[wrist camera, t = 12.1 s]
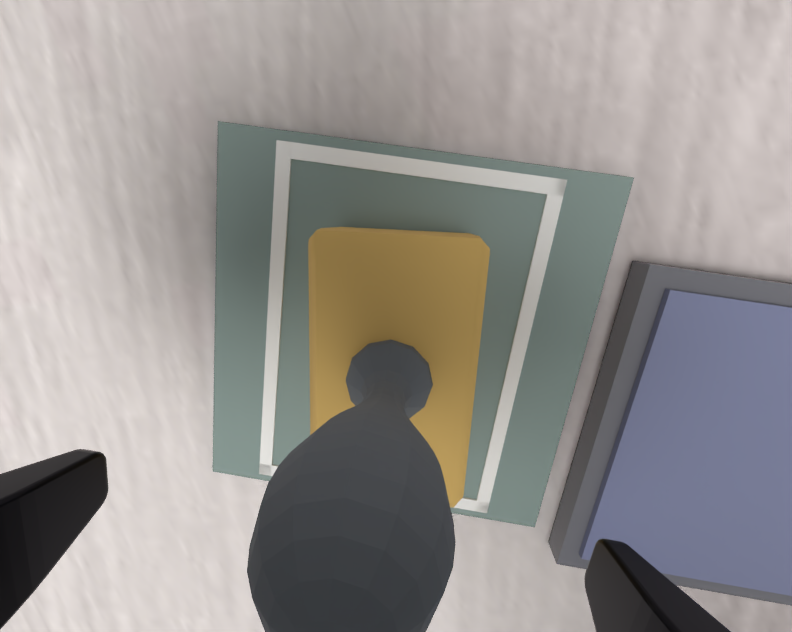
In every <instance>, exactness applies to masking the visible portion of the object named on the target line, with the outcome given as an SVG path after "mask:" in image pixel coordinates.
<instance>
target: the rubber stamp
mask: <svg viewBox="0 0 792 632" xmlns="http://www.w3.org/2000/svg"><path fill="white" fill-rule="evenodd" d="M489 257H490V248H489V247H488V246H487V245H486V243H485V242H484V241H483V240H482V239H481V237H480V236H477V235H473V234H470V233H455V232H435V231H416V230H396V229H376V228H356V227H330V228H320V229H318V230H316V231H315V233H314V234H313V235H312V236H311V237H310V238H309V242H308V268H309V358H310V436H309V437H308V438H306V439H305V440H304V441H303V442H302V443H300V444H299V445H298V446H297V447H296V448H294V449H293V450H292V451H291V452H290V453H289V454H288V455H287V456H286V458H285V459H284V460H283V461H282V462H281V463H280V464H279V466H278V468H277V469H276V471H275V473H274V474H273V476H272V478H271V479H270V481H269V483H268V486H267V488H266V491H265V494H264V497H263V500H262V503H261V506H260V510H259V513H258V517H257V521H256V525H255V528H254V532H253V536H252V540H251V543H250V549H249V558H248V568H247V573H248V578H249V583H250V589H251V594H252V598H253V601H254V604H255V606H256V609H257V612H258V614H259V617H260V619H261V622H262V625H263V627H264V630H265V632H425V631H426V630H427V628H428V626H429V624H430V622H431V619H432V617H433V615H434V613H435V611H436V609H437V606H438V604H439V602H440V600H441V598H442V596H443V593H444V591H445V588H446V585H447V582H448V579H449V577H450V574H451V571H452V568H453V561H454V551H455V535H454V524H453V518H452V513H451V509H450V507H452V508H454V507H455V505H456V504H457V503H458V502H459V501H460V500H461V499H462V498H463V495H464V486H465V477H466V468H467V459H468V449H469V440H470V431H471V422H472V413H473V403H474V394H475V385H476V376H477V367H478V358H479V348H480V339H481V330H482V321H483V312H484V303H485V293H486V284H487V275H488V266H489Z"/></svg>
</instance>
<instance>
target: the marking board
mask: <svg viewBox="0 0 792 632" xmlns="http://www.w3.org/2000/svg"><path fill="white" fill-rule="evenodd" d="M633 179H634V178H633V177H625V176H618V175H610V174H603V173H596V172H588V171H581V170H574V169H566V168H559V167H552V166H544V165H537V164H529V163H522V162H515V161H507V160H500V159H493V158H485V157H478V156H471V155H463V154H456V153H448V152H441V151H434V150H426V149H419V148H412V147H404V146H397V145H389V144H382V143H375V142H367V141H360V140H353V139H345V138H338V137H331V136H323V135H316V134H308V133H301V132H294V131H286V130H279V129H272V128H264V127H257V126H250V125H242V124H235V123H227V122H220V121H218V150H217V217H216V283H215V350H214V416H213V471H214V472H219V473H225V474H231V475H237V476H242V477H248V478H254V479H260V480H265V481H270V479H271V478H272V476H273V474H274V473H275V471H276V469H277V468H278V466H279V464H280V463H281V462H282V461H283V460H284V459H285V458H286V456H287V455H288V454H289V453H290V452H291V451H292V450H293V449H294V448H296V447H297V446H298V445H299V444H300V443H302V442H303V441H304V440H305V439H306V438H308V437H309V436H310V358H309V268H308V242H309V238H310V237H311V236H312V235H313V234H314V233H315V231H316V230H318V229H320V228H330V227H356V228H376V229H396V230H416V231H435V232H455V233H470V234H473V235H477V236H480V237H481V239H482V240H483V241H484V242H485V243H486V245H487V246H488V247H489V248H490V257H489V266H488V275H487V284H486V293H485V303H484V312H483V321H482V330H481V339H480V348H479V358H478V367H477V376H476V385H475V394H474V403H473V413H472V422H471V431H470V440H469V449H468V459H467V468H466V477H465V486H464V495H463V498H462V499H461V500H460V501H459V502H458V503H457V504H456V505H455V507H454V508H452V507H450V509H451V513H456V514H461V515H467V516H473V517H479V518H484V519H490V520H496V521H502V522H507V523H513V524H519V525H525V526H531V527H535V524H536V521H537V517H538V514H539V510H540V507H541V503H542V500H543V496H544V493H545V489H546V485H547V482H548V478H549V475H550V471H551V468H552V464H553V461H554V457H555V454H556V450H557V447H558V443H559V440H560V436H561V433H562V429H563V426H564V422H565V419H566V415H567V412H568V408H569V405H570V401H571V398H572V394H573V390H574V387H575V383H576V380H577V376H578V373H579V369H580V366H581V362H582V359H583V355H584V352H585V348H586V345H587V341H588V338H589V334H590V331H591V327H592V324H593V320H594V317H595V313H596V310H597V306H598V302H599V299H600V295H601V292H602V288H603V285H604V281H605V278H606V274H607V271H608V267H609V264H610V260H611V257H612V253H613V250H614V246H615V243H616V239H617V236H618V232H619V229H620V225H621V222H622V218H623V214H624V211H625V207H626V204H627V200H628V197H629V193H630V190H631V186H632V183H633Z"/></svg>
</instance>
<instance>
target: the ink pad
mask: <svg viewBox="0 0 792 632" xmlns="http://www.w3.org/2000/svg"><path fill="white" fill-rule="evenodd" d="M599 539H610V540H616V541H621V542H624V543H626V544H627V545H629V546H630V547H631V548H632V549H633V550H635V551H636V552H637V553H638V554H639V555H640V556H642V557H643V558H644V559H645V560H646V561H648V562H649V563H650V564H651V565H652V566H654V567H655V568H656V569H657V570H658V571H659V572H661V573H662V574H663V575H664V576H665V577H667V578H668V579H669V580H670V581H671V582H672V583H674V584H675V585H679V586H685V587H690V588H696V589H701V590H707V591H713V592H718V593H724V594H730V595H735V596H741V597H747V598H752V599H758V600H764V601H769V602H775V603H781V604H786V605H792V284H790V283H783V282H776V281H769V280H762V279H755V278H748V277H741V276H734V275H727V274H720V273H713V272H706V271H700V270H693V269H686V268H679V267H672V266H665V265H658V264H651V263H644V262H637V261H633V262H632V265H631V269H630V272H629V275H628V279H627V282H626V285H625V289H624V292H623V295H622V299H621V302H620V305H619V309H618V312H617V315H616V319H615V322H614V325H613V329H612V332H611V335H610V339H609V342H608V345H607V349H606V352H605V355H604V359H603V362H602V365H601V369H600V372H599V375H598V379H597V382H596V385H595V389H594V392H593V395H592V399H591V402H590V406H589V409H588V412H587V416H586V419H585V422H584V426H583V429H582V432H581V436H580V439H579V442H578V446H577V449H576V452H575V456H574V459H573V462H572V466H571V469H570V472H569V476H568V479H567V482H566V486H565V489H564V492H563V496H562V499H561V502H560V506H559V509H558V512H557V516H556V519H555V522H554V526H553V529H552V532H551V536H550V539H549V545H550V548H551V550H552V553H553V555H554V558H555V561H556V563H557V564H560V565H566V566H572V567H577V568H583V569H587V567H588V564H589V561H590V558H591V555H592V553H593V550H594V547H595V544H596V542H597V541H598V540H599Z"/></svg>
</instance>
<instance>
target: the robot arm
mask: <svg viewBox="0 0 792 632" xmlns="http://www.w3.org/2000/svg"><path fill="white" fill-rule="evenodd" d="M107 493H108V478H107V464H106V457H105V456H104V454H103V453H101V452H97V451H91V450H85V449H78V450H74V451H71V452H68V453H65V454H62V455H58V456H55V457H52V458H49V459H46V460H43V461H40V462H37V463H34V464H30V465H27V466H24V467H21V468H18V469H15V470H12V471H9V472H6V473H2V474H0V629H1V628H2V627H3V626H4V625H5V624H6V623H7V621H8V620H9V619H10V618H11V617H12V616H13V615H14V614H15V613H16V611H17V610H18V609H19V608H20V607H21V606H22V605H23V604H24V602H25V601H26V600H27V599H28V598H29V597H30V596H31V594H32V593H33V592H34V591H35V590H36V588H37V587H38V586H39V585H40V583H41V582H42V581H43V580H44V579H45V577H46V576H47V575H48V574H49V572H50V571H51V570H52V568H53V567H54V566H55V565H56V563H57V562H58V561H59V559H60V558H61V557H62V556H63V554H64V553H65V552H66V551H67V549H68V548H69V547H70V545H71V544H72V543H73V542H74V540H75V539H76V538H77V536H78V535H79V534H80V533H81V531H82V530H83V529H84V527H85V526H86V525H87V524H88V522H89V521H90V520H91V519H92V517H93V516H94V515H95V513H96V512H97V511H98V510H99V508H100V507H101V506H102V504H103V503H104V501H105V499H106V496H107ZM585 588H586V593H587V597H588V601H589V605H590V608H591V612H592V616H593V620H594V624H595V628H596V632H730V631H729V630H728V629H727V628H726V627H725V626H723V625H722V624H721V623H720V622H719V621H717V620H716V619H715V618H714V617H713V616H711V615H710V614H709V613H708V612H707V611H706V610H704V609H703V608H702V607H701V606H700V605H698V604H697V603H696V602H695V601H694V600H693V599H691V598H690V597H689V596H688V595H687V594H685V593H684V592H683V591H682V590H681V589H680V588H678V587H677V586H676V585H675V584H674V583H672V582H671V581H670V580H669V579H668V578H667V577H665V576H664V575H663V574H662V573H661V572H659V571H658V570H657V569H656V568H655V567H654V566H652V565H651V564H650V563H649V562H648V561H646V560H645V559H644V558H643V557H642V556H640V555H639V554H638V553H637V552H636V551H635V550H633V549H632V548H631V547H630V546H629V545H627V544H626V543H624V542H621V541H616V540H610V539H599V540H598V541H597V542H596V544H595V547H594V550H593V553H592V555H591V558H590V561H589V564H588V567H587V570H586V574H585Z"/></svg>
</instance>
